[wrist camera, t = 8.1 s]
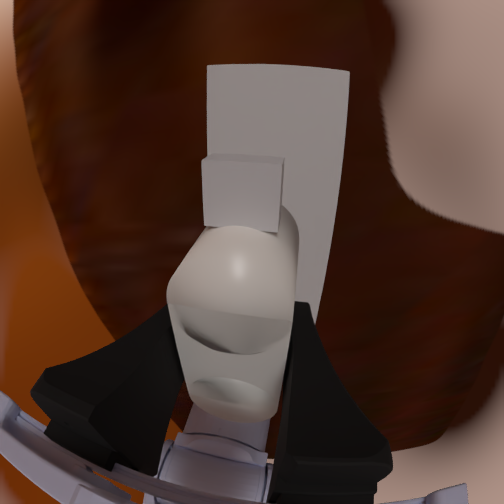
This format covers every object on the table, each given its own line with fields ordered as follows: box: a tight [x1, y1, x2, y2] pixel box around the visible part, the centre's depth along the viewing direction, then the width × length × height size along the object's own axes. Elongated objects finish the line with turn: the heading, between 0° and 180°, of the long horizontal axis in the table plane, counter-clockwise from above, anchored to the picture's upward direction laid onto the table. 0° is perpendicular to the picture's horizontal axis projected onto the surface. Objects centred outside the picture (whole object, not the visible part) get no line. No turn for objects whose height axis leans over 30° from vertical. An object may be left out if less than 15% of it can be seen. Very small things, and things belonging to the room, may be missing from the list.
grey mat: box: [207, 64, 350, 323], centre depth 19 cm, size 20×8×1 cm, turn 179°
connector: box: [167, 153, 299, 423], centre depth 11 cm, size 10×4×4 cm, turn 178°
